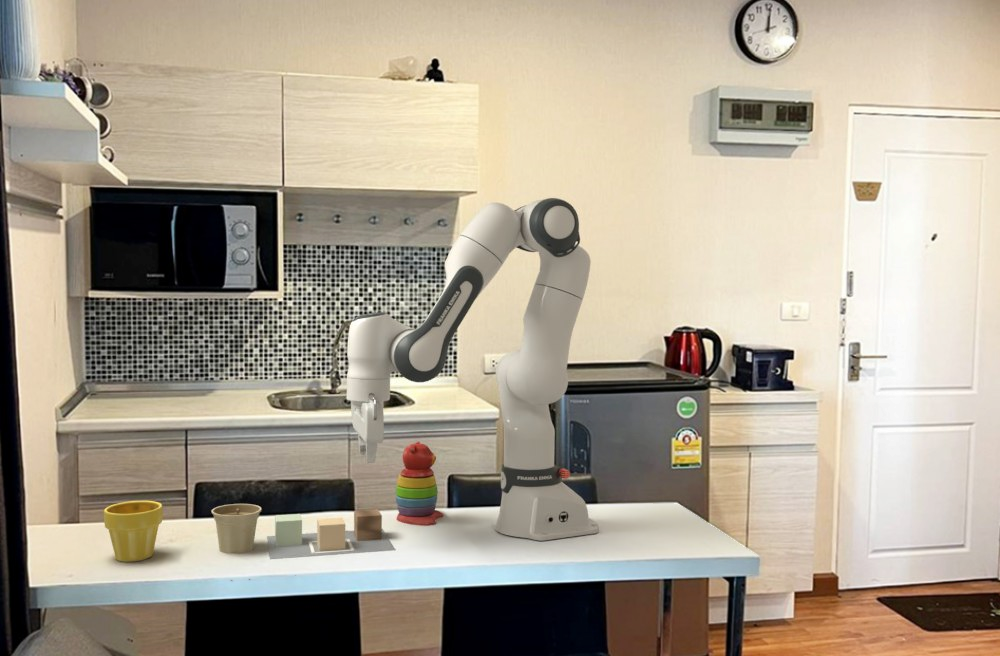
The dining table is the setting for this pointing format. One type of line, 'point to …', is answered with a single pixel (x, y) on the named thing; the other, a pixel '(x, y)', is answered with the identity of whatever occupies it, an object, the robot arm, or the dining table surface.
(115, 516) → the plant pot
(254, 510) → the flower pot
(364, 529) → the walnut block
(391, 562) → the dining table surface
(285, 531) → the sage block
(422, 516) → the stacking bear
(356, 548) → the building board
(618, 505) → the dining table surface
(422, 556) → the dining table surface
